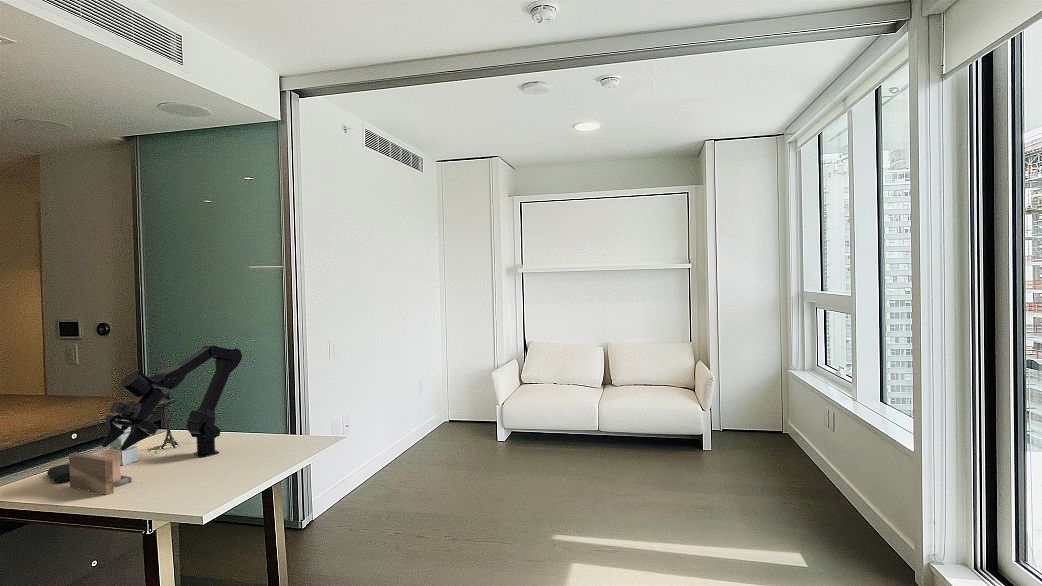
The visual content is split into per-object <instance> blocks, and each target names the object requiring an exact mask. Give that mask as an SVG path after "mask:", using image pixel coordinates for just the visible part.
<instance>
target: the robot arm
mask: <svg viewBox="0 0 1042 586" xmlns="http://www.w3.org/2000/svg"><path fill="white" fill-rule="evenodd" d="M210 359H214V365H215V371H214V373H213V376H212V379H211V381H210V383H209V385H208V387H207V390H206V392H205V394H204V397H203V399H202V402H201V404H200V406H199V407H198V408H197V410H191V411H190V413H189V416H188V417H187V420H185V422H186V429H187V431H188V433H189V434H190V435H191V438H196V451H195V452H193V455H194V456H196V457H198V458H204V457H207V456H213V455H216V454H219V453H220V451H218V450H216V438H218V437H220V435H221V432H222V430H221V429H220V428H219V427H218V426H216V425H215V423H216V413H215V411H216V408H217V406H218V404H219V401H220V399H221V396H222V394H223V393H224V392H223V391H224V388H225V387H226V383H227V382H228V379H229V377H230V375H231V373H232V372H233V371H234V370H236V369H237V368H238V366H239V365H240V363H241V361H242V359H243V353H242V351H241V350H240V349H239V348H232V347H220V346H217V345H215V344H213V345H212V344H205V345H204V346H202V347H201V348H200V349H199V350H197V351H196V352H194V353H193V354H191V355H189V356H188V357H186V358H185V359H184V360H182V361H181V362H179V363H177V364H175V365H173V366H170V367H165V368H164V369H161V370H159V371H157V372H155V374H153V375H151V376H149V377H148V376H147V375H146V374H145V373H144V372H143V371H142V370H141V369H140V370H139V369H135V370H134V371H133V372H132V373H129V374H128V375H127V376H125V377H124V378H123V379H122V380H121V382H120V386H121V388H123V389H124V390H125V391H127V392H128V393H130V394H131V395H132V396H134V397H135V398H137V397H138V398H139V399H138V400H137V401H132V400H127V401H126V402H121V401H112V404H111V406H110V409H109V410H108V412H109V413H110V414H108V415H107V416H106V417H105V418H104V421H105V424H106V426H107V427H106V428H107V430H106V434H105V436H104V439H103V441H102V444H101V447H103V448H106V447H108V446H110V444H111V443H112V442H113V441H114V440H116V439H117V438H118V437H119V436H121V435H122V434H123V433H124V430H126V429H127V428H128V427H131V432H130V434H129V435H128V437H127V438H126V440H125V441H124V443H123V444H122V446H121V448H120V449H121V450H122V451H124V450H125V449H127V448H129V447H130V446H132V445H134V444H135V443H137V444H138V443H139V442H141V441H143V440H144V439H146V438H150V437H151V435H152V436H154V435H155V434H156V433H157V432H158V430H159V429H158V428H159V427H158V425H157V424H156V423H154V422H153V421H152V420H150V417H151V416H156V415H155V414H156V412H155V410H156V409H157V408H158V406H159V405H160V404H161V402H162V401H167V402H168V401H169V402H170V401H171V396H170V392H168V391H163V390H174V389H176V388H177V387H178V386H179V385H180V384H181V383H182V382H183V381H184V379H185V378H186V377H187V375H188V374H190V373H191V372H193V371H194V370H196V369H197V368H198V367H200V366H202V365H203V364H204V363H206V362H207V361H209V360H210ZM162 389H163V390H162Z"/></svg>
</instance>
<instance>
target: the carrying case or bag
mask: <svg viewBox="0 0 1042 586" xmlns="http://www.w3.org/2000/svg"><path fill="white" fill-rule="evenodd" d="M46 474H47V476H48V477H49V479H48V480H49V481H50V482H55V483H56V482H57V483H58V482H59V483H58V484H64V483H63V482H65V483H69V482H68V481H70V468H69V463H65V464H60V465H56V466H52V467H50V468H49V470H47V472H46Z"/></svg>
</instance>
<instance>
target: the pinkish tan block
mask: <svg viewBox="0 0 1042 586" xmlns="http://www.w3.org/2000/svg"><path fill="white" fill-rule="evenodd" d="M88 455H93V456H99V457H104V458H110V459H112V465H113V482H115V481H118V480H121V475H122V473H121V465H120V451H115V450H110V448H109V449H105V450H101V451H97V452H94V453H89V454H88Z"/></svg>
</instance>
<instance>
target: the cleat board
mask: <svg viewBox="0 0 1042 586" xmlns="http://www.w3.org/2000/svg"><path fill="white" fill-rule="evenodd" d="M68 464H69V468H70V482H69V487H70V488H73V487H75V488H74V489H77V488H80V489H79V490H82V489H84V490H83V491H86V490H89V491H88V492H90V491H93V492H92V493H95V492H97V493H96V494H99V493H102V494H101V495H103V494H106V495H105V496H108V495H111V494H110V493H112V494H114V493H115V492H114V489H115V488H118V487H122V486H124V485H127V484H130V483H132V481H133V480H132V479H133V477H132V476H127V475H122V474H121V480H118V481H115V482H113V465H112V459H110V458H104V457H99V456H93V455H89V454H88V453H87V454H86V453H82V452H76V451H75V452H73V453H69V454H68ZM114 487H115V488H114ZM113 492H114V493H113ZM107 494H108V495H107Z"/></svg>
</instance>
